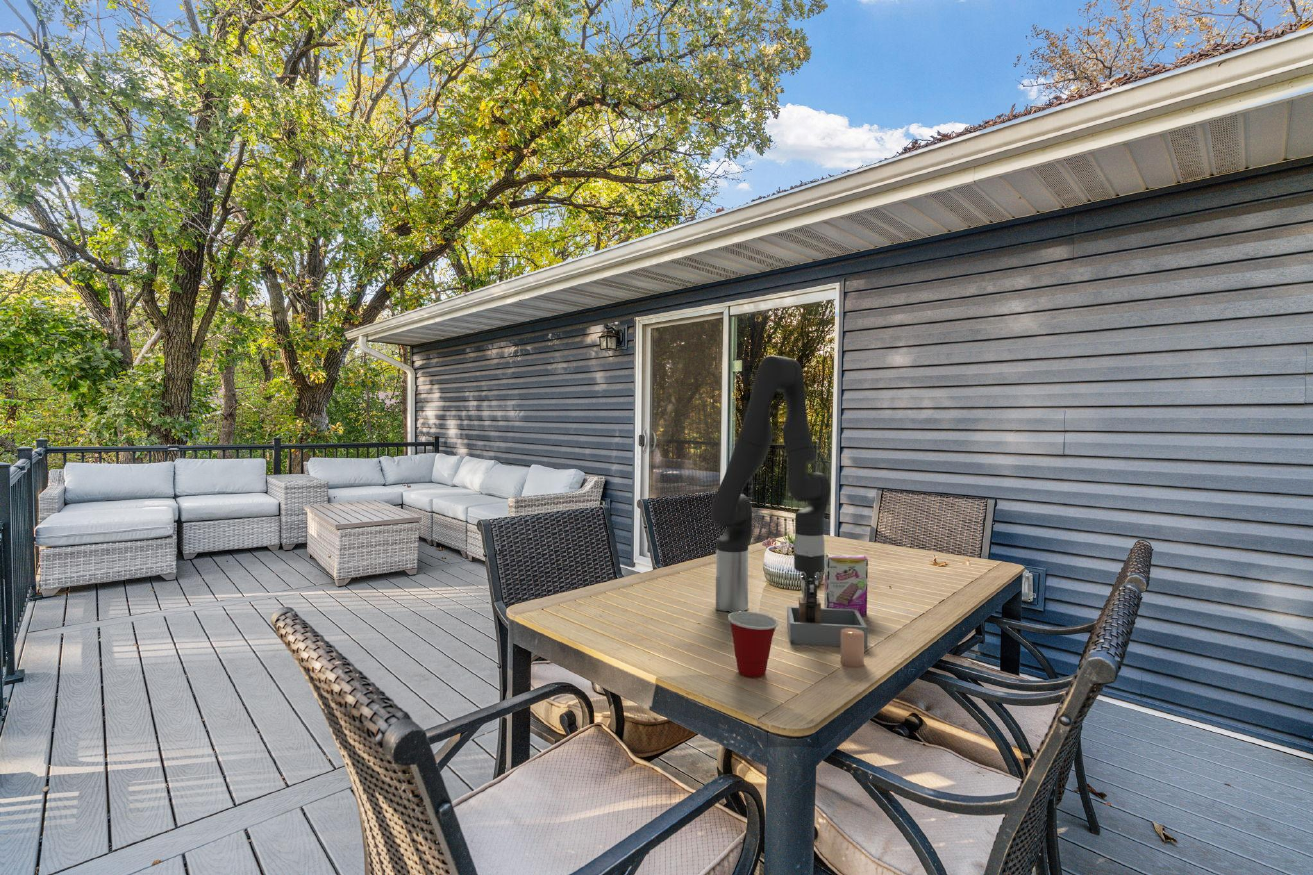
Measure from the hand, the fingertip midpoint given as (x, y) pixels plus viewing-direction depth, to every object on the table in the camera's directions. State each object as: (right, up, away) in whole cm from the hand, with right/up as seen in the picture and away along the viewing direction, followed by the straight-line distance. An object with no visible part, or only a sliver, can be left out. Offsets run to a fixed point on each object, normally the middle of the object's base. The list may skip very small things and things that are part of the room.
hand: (809, 617), depth 153 cm
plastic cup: (-18, -5, -23) cm, 30 cm away
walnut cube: (0, 0, 0) cm, 0 cm away
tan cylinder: (+5, -5, -18) cm, 19 cm away
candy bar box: (+15, -4, +18) cm, 24 cm away
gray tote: (+4, -4, -1) cm, 6 cm away
